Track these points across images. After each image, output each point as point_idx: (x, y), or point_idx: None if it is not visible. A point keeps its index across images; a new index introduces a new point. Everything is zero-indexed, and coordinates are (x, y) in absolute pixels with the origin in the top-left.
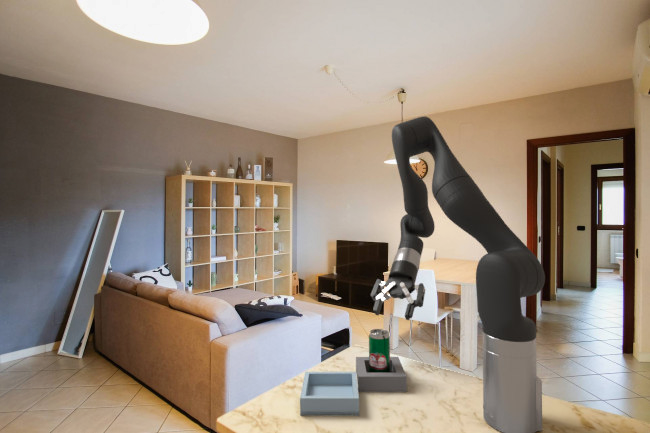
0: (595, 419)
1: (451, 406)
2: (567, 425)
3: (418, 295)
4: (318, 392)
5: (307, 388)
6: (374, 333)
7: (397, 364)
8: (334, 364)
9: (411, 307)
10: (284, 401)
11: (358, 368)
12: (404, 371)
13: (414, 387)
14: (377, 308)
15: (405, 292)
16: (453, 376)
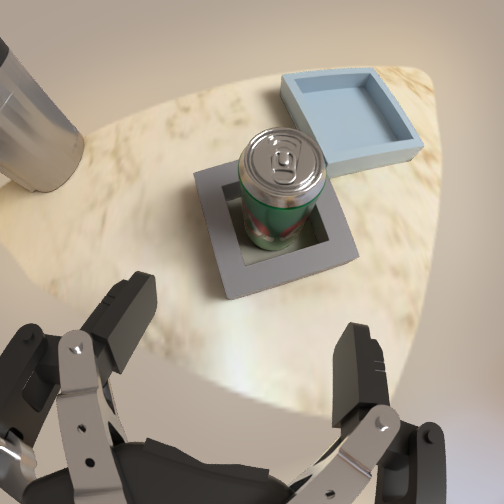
0: None
1: (119, 167)
2: (8, 184)
3: (12, 372)
4: (374, 128)
5: (388, 109)
6: (298, 136)
7: (223, 237)
8: (406, 281)
9: (95, 322)
10: (408, 113)
11: (327, 182)
12: (200, 199)
13: (183, 215)
14: (353, 339)
15: (90, 425)
16: (98, 300)
